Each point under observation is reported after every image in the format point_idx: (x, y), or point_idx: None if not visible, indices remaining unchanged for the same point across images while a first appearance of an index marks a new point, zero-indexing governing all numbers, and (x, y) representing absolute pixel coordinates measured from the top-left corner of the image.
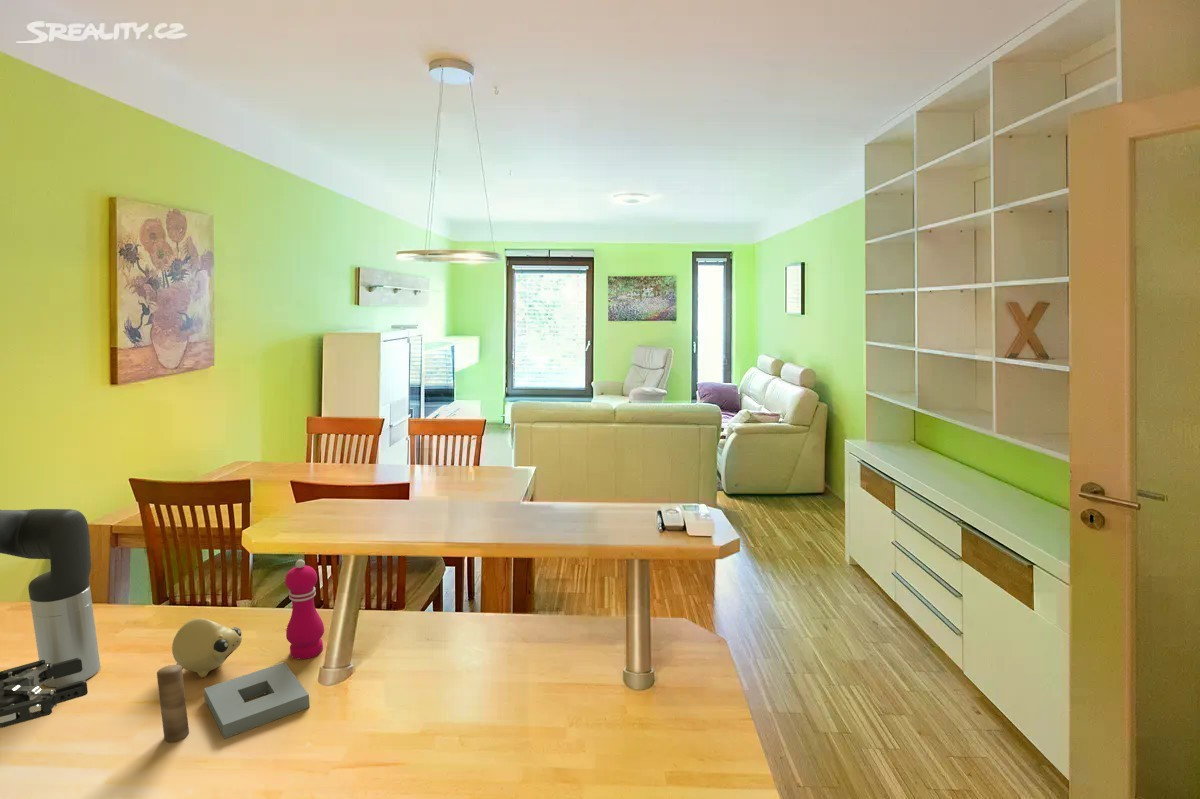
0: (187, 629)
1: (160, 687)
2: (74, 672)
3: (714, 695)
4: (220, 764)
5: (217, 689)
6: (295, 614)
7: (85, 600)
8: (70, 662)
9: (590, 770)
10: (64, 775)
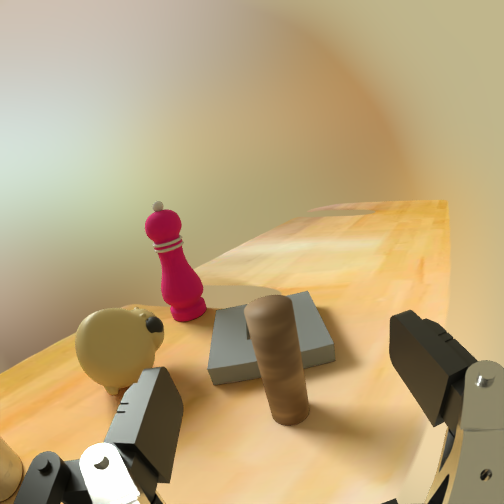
0: (95, 330)
1: (285, 339)
2: (179, 420)
3: (385, 203)
4: None
5: (225, 357)
6: (177, 267)
7: None
8: (155, 391)
9: (435, 218)
10: None
